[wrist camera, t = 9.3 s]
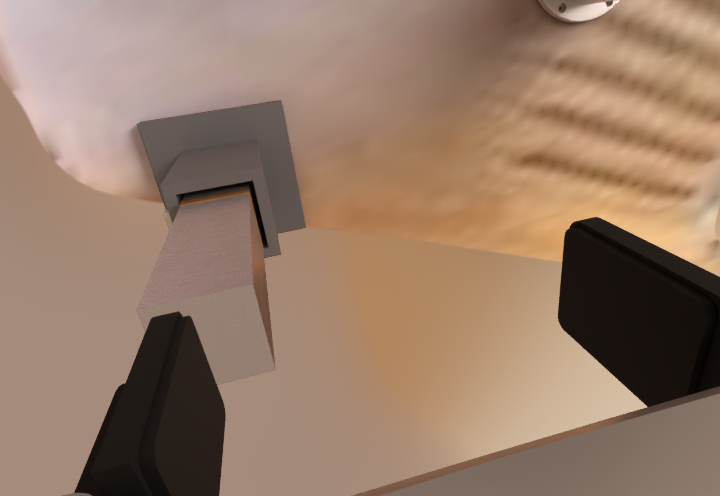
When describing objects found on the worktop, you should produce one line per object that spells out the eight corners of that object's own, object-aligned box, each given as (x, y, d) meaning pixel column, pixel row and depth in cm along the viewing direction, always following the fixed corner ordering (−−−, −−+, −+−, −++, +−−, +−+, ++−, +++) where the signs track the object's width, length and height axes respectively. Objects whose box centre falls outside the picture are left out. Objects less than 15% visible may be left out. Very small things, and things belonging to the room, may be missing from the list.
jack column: (248, 169, 36) (253, 282, 18) (260, 222, 38) (276, 370, 20) (189, 180, 35) (134, 309, 17) (205, 233, 37) (171, 397, 19)
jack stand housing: (280, 100, 42) (295, 118, 30) (304, 222, 48) (324, 278, 36) (140, 121, 40) (97, 150, 28) (182, 247, 46) (160, 316, 34)
